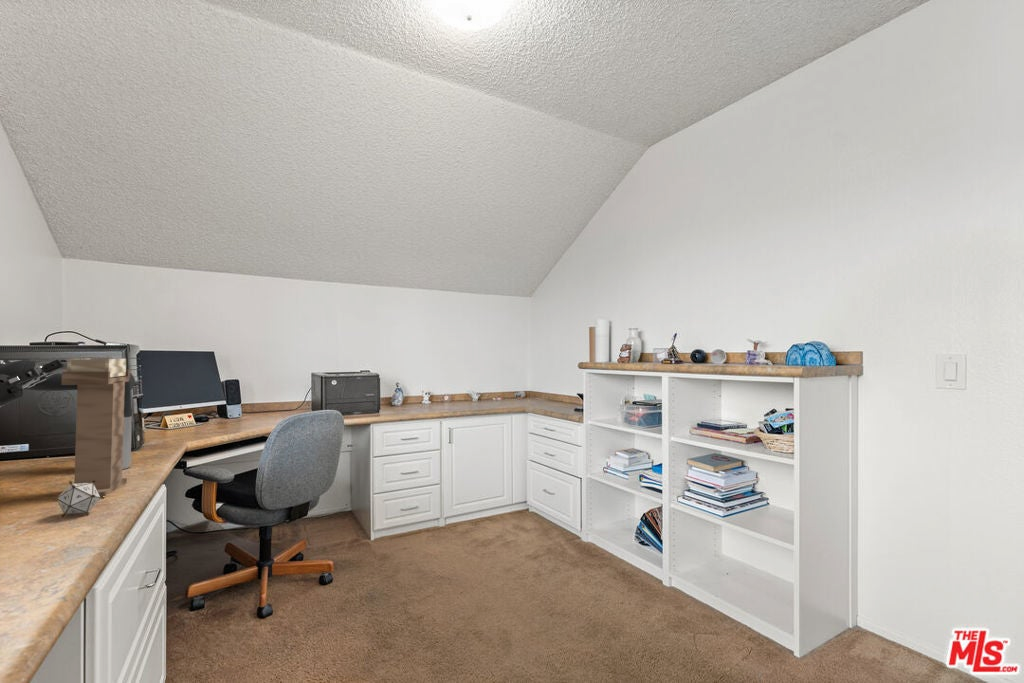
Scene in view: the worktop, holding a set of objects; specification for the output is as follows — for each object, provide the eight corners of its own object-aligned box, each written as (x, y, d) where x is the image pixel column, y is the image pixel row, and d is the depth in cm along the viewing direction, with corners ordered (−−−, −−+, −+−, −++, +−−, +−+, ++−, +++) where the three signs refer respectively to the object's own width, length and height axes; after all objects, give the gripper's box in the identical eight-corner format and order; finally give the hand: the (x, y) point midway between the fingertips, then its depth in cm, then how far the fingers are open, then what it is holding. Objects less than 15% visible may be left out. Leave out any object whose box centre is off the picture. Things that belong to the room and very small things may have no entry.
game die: (78, 532, 115) (64, 506, 110) (52, 517, 117) (38, 490, 111) (116, 504, 122) (105, 479, 117) (91, 490, 124) (80, 464, 119)
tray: (49, 375, 137) (50, 358, 137) (125, 375, 144) (126, 358, 144) (25, 378, 126) (25, 359, 126) (108, 377, 132) (108, 359, 132)
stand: (84, 486, 141) (88, 369, 142) (126, 483, 144) (129, 369, 145) (57, 501, 127) (61, 371, 128) (104, 497, 130) (108, 371, 131)
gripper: (-36, 384, 121) (41, 350, 127) (0, 381, 134) (68, 350, 140) (-17, 409, 122) (59, 375, 128) (16, 404, 135) (84, 373, 141)
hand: (63, 362), depth 134 cm, fingers closed on tray, 3 cm apart
